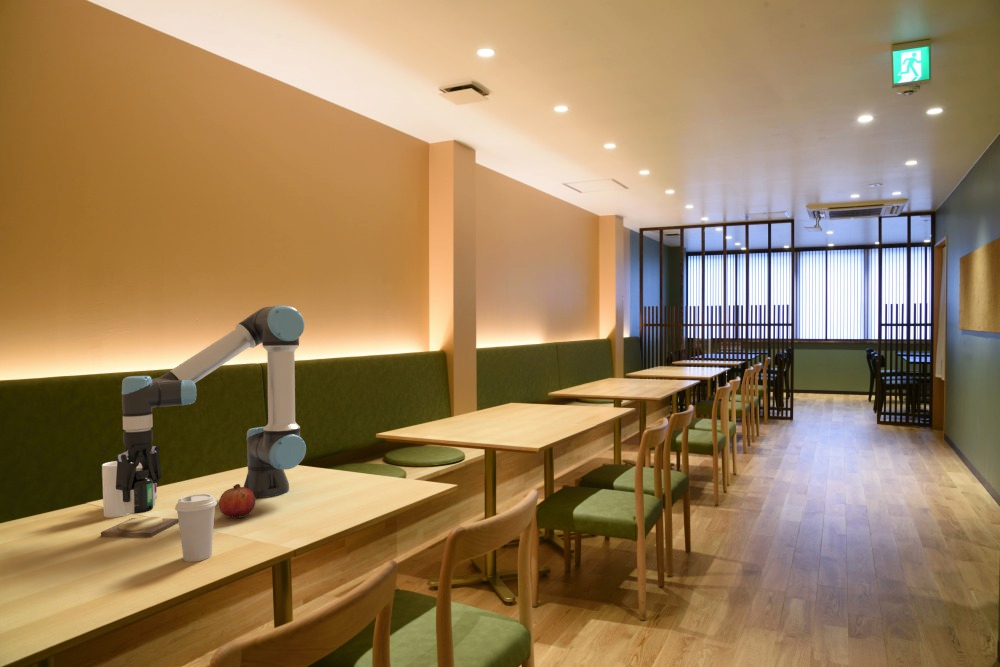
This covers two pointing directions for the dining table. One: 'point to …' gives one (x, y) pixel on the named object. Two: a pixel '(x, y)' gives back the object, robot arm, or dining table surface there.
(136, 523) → the walnut board
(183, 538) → the coffee cup
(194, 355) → the robot arm
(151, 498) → the supplement bottle
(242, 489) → the fruit
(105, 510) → the cup
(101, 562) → the dining table surface
